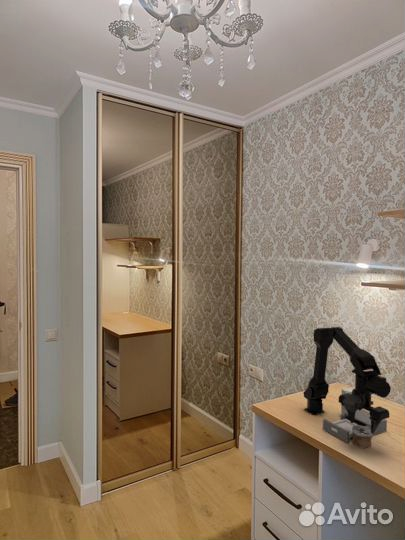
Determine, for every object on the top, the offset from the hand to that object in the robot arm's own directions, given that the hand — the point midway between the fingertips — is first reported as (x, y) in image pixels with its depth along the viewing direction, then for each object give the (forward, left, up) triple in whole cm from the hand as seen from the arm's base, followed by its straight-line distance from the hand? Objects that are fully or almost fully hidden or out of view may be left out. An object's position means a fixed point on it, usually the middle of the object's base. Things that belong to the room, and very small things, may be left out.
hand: (362, 428), depth 141 cm
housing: (-9, +11, -6) cm, 16 cm away
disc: (0, 0, -2) cm, 2 cm away
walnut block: (0, 0, -6) cm, 6 cm away
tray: (-9, +1, -6) cm, 11 cm away
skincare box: (-19, +15, -6) cm, 25 cm away
